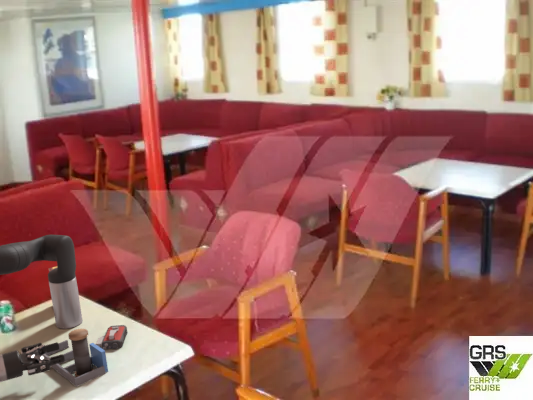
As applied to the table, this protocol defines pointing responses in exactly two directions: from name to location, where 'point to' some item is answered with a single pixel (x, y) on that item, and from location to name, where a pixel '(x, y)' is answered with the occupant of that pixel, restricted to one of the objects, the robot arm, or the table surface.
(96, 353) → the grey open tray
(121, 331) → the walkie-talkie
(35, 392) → the table surface
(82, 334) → the cord spool
